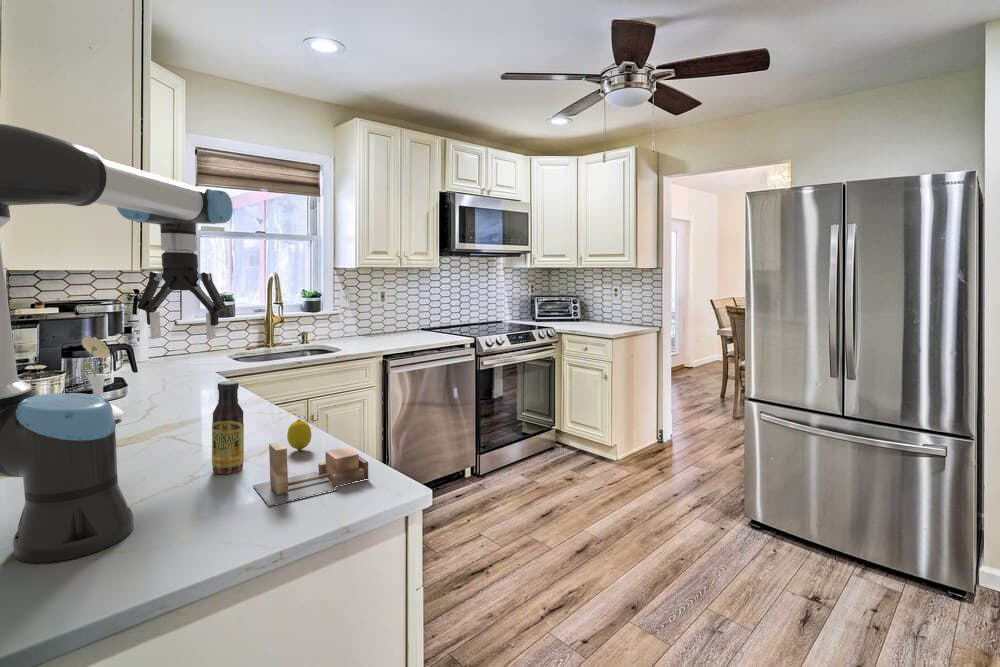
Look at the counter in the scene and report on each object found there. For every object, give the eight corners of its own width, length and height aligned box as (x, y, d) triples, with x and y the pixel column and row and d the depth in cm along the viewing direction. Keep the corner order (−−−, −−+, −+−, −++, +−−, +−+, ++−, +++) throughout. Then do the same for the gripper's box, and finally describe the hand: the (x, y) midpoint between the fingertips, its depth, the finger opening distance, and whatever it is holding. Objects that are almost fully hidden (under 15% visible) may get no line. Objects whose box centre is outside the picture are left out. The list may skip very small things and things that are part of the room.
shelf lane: (348, 465, 120) (348, 448, 119) (371, 482, 110) (370, 463, 110) (253, 486, 107) (252, 467, 107) (269, 507, 98) (268, 486, 97)
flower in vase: (131, 420, 154) (126, 336, 151) (84, 430, 144) (78, 340, 141) (111, 414, 160) (105, 333, 158) (65, 422, 151) (59, 336, 148)
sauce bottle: (209, 477, 112) (204, 385, 110) (216, 466, 118) (212, 380, 116) (242, 474, 114) (238, 384, 112) (248, 464, 120) (244, 379, 118)
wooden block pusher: (348, 468, 116) (347, 429, 116) (359, 476, 112) (358, 435, 111) (269, 486, 106) (268, 443, 105) (278, 495, 102) (276, 451, 101)
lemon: (304, 445, 133) (303, 415, 132) (316, 450, 130) (315, 419, 129) (283, 451, 129) (282, 419, 128) (295, 456, 126) (294, 423, 125)
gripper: (238, 253, 132) (241, 337, 134) (138, 252, 131) (142, 336, 133) (223, 252, 124) (226, 340, 127) (116, 250, 124) (122, 339, 126)
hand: (183, 338), depth 130 cm, fingers open, 13 cm apart
